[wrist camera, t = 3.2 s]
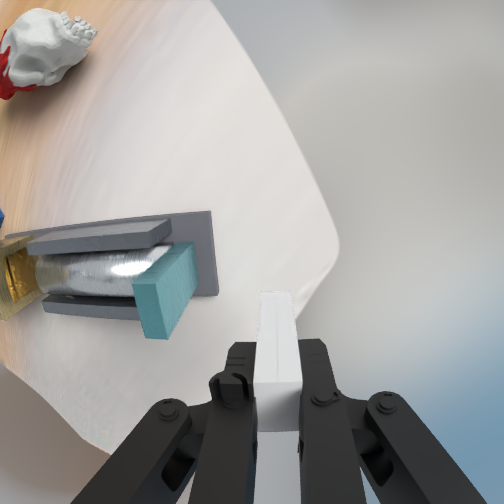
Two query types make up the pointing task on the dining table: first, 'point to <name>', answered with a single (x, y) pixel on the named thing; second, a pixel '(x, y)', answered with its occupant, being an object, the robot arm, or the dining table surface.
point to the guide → (67, 241)
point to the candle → (41, 49)
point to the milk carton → (1, 217)
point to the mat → (183, 230)
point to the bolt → (128, 280)
